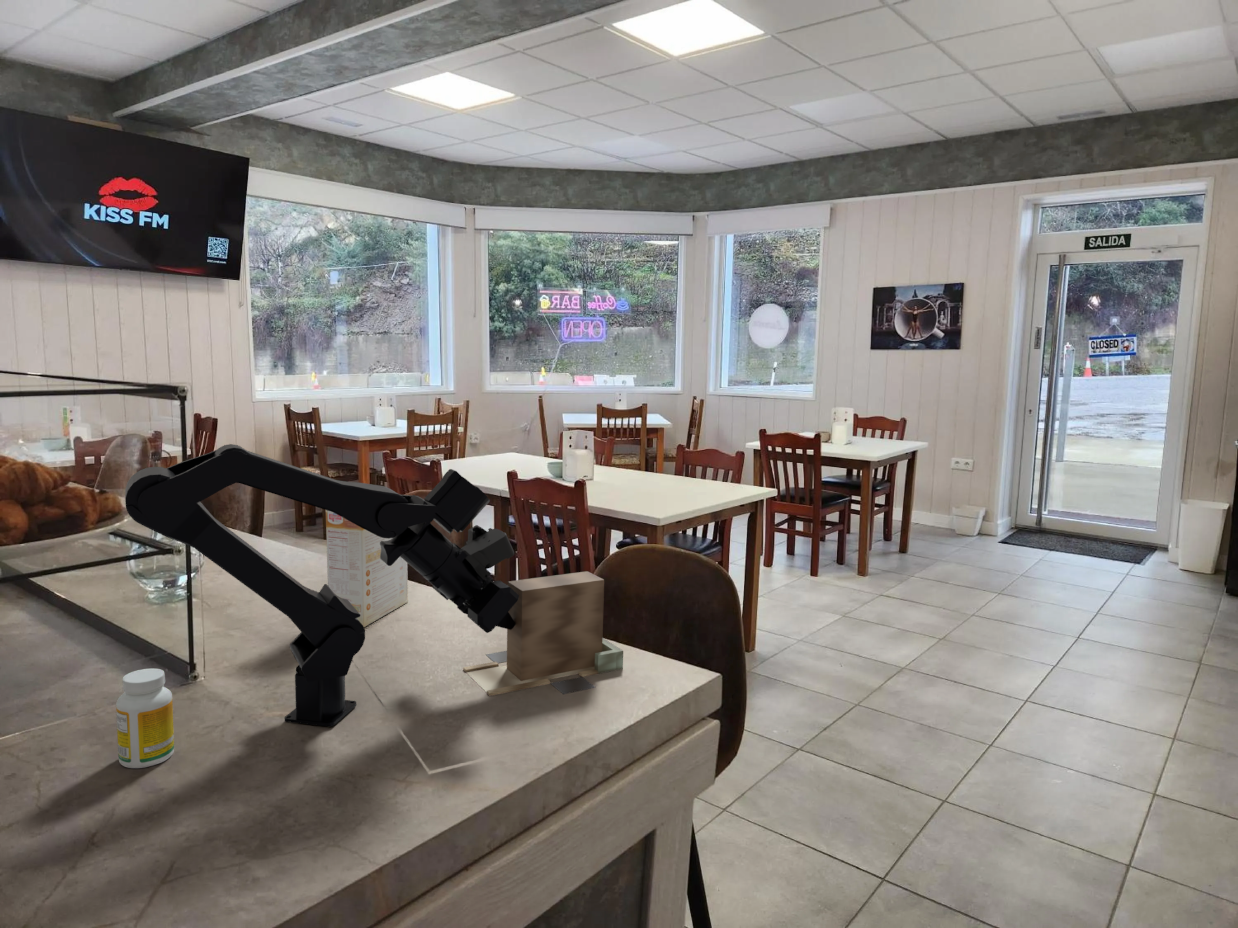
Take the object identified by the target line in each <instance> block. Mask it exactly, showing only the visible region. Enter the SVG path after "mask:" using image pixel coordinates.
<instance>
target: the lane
mask: <svg viewBox="0 0 1238 928" xmlns="http://www.w3.org/2000/svg"><path fill="white" fill-rule="evenodd" d="M485 655H486V657H487V658H488V659H490V661H491V662H486V663H481V664H480V663H479V664H475V665H469V666H463V668H462V669H463V671H464V672H465V673H466V674H467V675H468V676H469V677H470V678H471V679H472V680H473V682H475V683H476V684H477V685H478V686H479V687H480V688H481V690H483V691H484V692H485V693H486V694H487V695H488V696H489V697H491V696H496V695H500V694H501V695H502V694H506V693H510V692H515V691H520V690H525V689H531V688H535V687H539V686H545V685H549V684H550V685H551V686H553V687H554V688H555V689H556V690H557V691H559V693H561V694H562V695H567V694H571V693H575V692H576V693H577V692H581V691H586V690H590V689H594V688H596V686H595V685H594V684H592V683H591V682H590V681H589V680H587V679H586V677H589V676H595V675H598V674H603V673H609V672H615V671H618V670H623V669H624V650H623V649H621V648H620V647H618V646H617V645H615V644H614V643H612V642H610V641H608V639H605V638H604V637H603V639H602V652H599V653H595V666H594V667H589V668H584V669H579V670H574V671H569V672H564V673H559V674H554V675H549V676H544V677H539V678H534V679H529V680H523V681H520V680H519V679H518V678H517V677H516V676H515V675H514V674H512V673H511V672H510V671H509V670H508V669H507V664H506V665H500V666H499V664H502V663H507V650H502V651H498V652H497V651H496V652H492V653H485ZM575 675H578V676H579V677H574V678H570V679H563V680H559V681H555V682H551V680H553V679H558V678H563V677H569V676H575ZM584 677H585V678H584Z"/></svg>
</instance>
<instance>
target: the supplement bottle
mask: <svg viewBox="0 0 1238 928" xmlns="http://www.w3.org/2000/svg"><path fill="white" fill-rule="evenodd" d="M165 683H166V675H165V671H164V670H163V669H160V668H153V667H152V668H143V669H142V668H141V669H138V670H133V671H131V672H129V673H126V674H125V675H124V676H123V677H122V691H123V693H122V694H121V695H120V696H119V697H118V698H117V700H116V704H115V713H116V714H115V715H116V734H117V755H118V761H119V764H120V765H122V766H123V768H124V767H125V768H128V769H144V768H148V767H153V766H156V765H159V764H162V763H164V762H165V761H168V759H169V758H171V757H172V756H173V754H174V752H175V732H174V731H175V730H174V710H173V708H174V707H173V694H172V691H171V690H170V689H168V688H167V687H165Z"/></svg>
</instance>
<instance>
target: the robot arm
mask: <svg viewBox="0 0 1238 928" xmlns="http://www.w3.org/2000/svg"><path fill="white" fill-rule="evenodd" d="M234 484H240V485H244V486H247V487H251V488H254V489H257V490H261V491H262V492H263V491H264V492H266V493H270V494H272V495H276V496H279V497H280V496H281V497H283V498H286V499H289V500H291V501H292V500H293V501H296V502H299V503H303V504H306V505H309V506H312V507H316V508H319V509H322V510H325V511H326V510H328V511H331V512H333V513H335V514H337V515H339V516H341V517H343V518H345V519H347V520H348V521H350V522H352V523H354V524H356V525H357V526H359V527H361V528H363V529H365V530H367V531H369V532H371V533H373V534H375V535H377V536H379V537H382V538H392V539H391V540H388V541H381V542H380V545H381V555H380V559H381V560H382V561H383V562H385V563H386V564H387V565H388V566H391V565H393V563H394V562H395V561H396V560H397V559H398V558H399V557H401V558H402V559H404V560H405V561H406V562H407V565H409V566H410V567H412V568H413V569H414V570H415V571H416V572H417V573H419V574H420V575H421V577H423V578H424V579H425V580H427V582H428V583H430V584H431V585H432V589H433V590H434V591H436V592H437V593H438V594H439V595H440V596H441V597H443V598H444V599H445V600H446V601H448V600H449V601H451V602H452V603H454V605H456V606H457V607H456V608H457V609H458V610H459V611H460V612H462V613H463V614H465V615H467V616H466V617H467V618H468V619H469V620H471V621H472V622H473V623H474V624H476V626H477V627H479V628H480V629H481V630H482V631H483V632H485V634H488V633H491V632H492V631H493V630H495V628H497V627H498V628H502V629H506V630H507V629H509V630H511V629H513V627H514V626H515V625H516V623H515V622H514V620H513V619H512V617H511V615H510V614H509V612H508V611H509V610H510V609H511V608H512V607H513V605H514V604H515V603H516V602H517V601H518V598H519V595H518V594H517V593H516V592H515V591H514V590H513V589H512V588H510V587H509V586H508V584H506V583H504V582H503V581H501V580H499V579H498V580H494V579H493V578H492V577H490V575H491V574H492V573H491V572H490V571H489V570H488V569H491V568H493V567H495V566H496V565H497V564H499V563H501V562H503V561H505V560H506V559H507V560H509V559H510V558H513V556H514V555H515V550H514V549H513V546H512V544H511V542H510V539H509V537H508V535H507V533H506V532H505V531H504V532H503V531H502V530H501V529H498V528H492V527H490V528H488V530H486V529H484V528H483V527H481V526H479V525H477V524H475V525H474V526H472V527H471V528H469V529H468V530H467V541H465V543H466V544H465V545H464V546H462V547H460V546H459V545H457V544H456V543H453V542H451V540H450V539H448V537H446V536H445V535H444V534H443V533H442V532H441V531H440V530H439V529H438V528H436V527H435V526H434V525H433V524H432V522H433V521H434V522H435V523H436V524H437V525H438V526H440V528H442V529H443V530H444V531H445V532H447V533H449V534H451V533H452V532H456V533H457V534H458V533H463V532H464V531H465V529H466V528H467V527H468V526H469V525H470V524H471V523H472V522H473V520H474V519H475V518H476V517H477V516H478V515H479V514H480V513H481V512H482V511H483V510H484V509H485V507H486V506H487V505H488V504H489V503H490V501H491V500H490V498H489V497H488V496H487V495H486V494H485V493H484V492H483V490H481V489H480V488H479V487H478V486H476V485H474V484H473V483H471V482H470V481H469V480H468V479H466V478H465V477H464V476H462V475H461V474H460V473H459V472H458V471H457V470H455V469H452V468H449V469H448V470H447V471H446V472H445V473H444V474H443V476H442V478H441V480H440V481H439V482H437V484H436V485H435V486H434V487H433V488H432V490H431V491H429V492H428V494H427V495H426V496H425V497H424V498H422V497H420V496H419V495H415V494H413V495H411V494H410V495H408V494H400V493H398V492H396V491H394V490H393V489H391V488H389V487H387V486H384V485H379V484H371V483H364V482H357V481H356V482H355V481H345V480H338V479H334V478H332V477H331V478H330V477H328V476H326V475H322V474H320V473H316V472H312V471H310V470H307V469H304V468H301V467H297V466H295V465H293V464H289V463H286V462H282V461H280V460H276V459H274V458H271V457H267V456H264V455H262V454H258V453H255V452H253V451H250V450H247V449H245V448H243V447H242V446H241V445H238V444H234V443H233V444H232V443H229V444H224V445H222V446H220V447H218V448H217V449H215V450H212V451H211V452H207V453H204V454H201V455H199V456H195V457H192V458H189V459H187V460H184V461H180V462H178V463H175V464H173V465H171V466H168V467H163V466H151V467H150V466H149V467H146V468H142V469H140V470H138V471H136V472H135V473H134V474H132V475H131V477H130V478H129V479H128V481H127V483H126V485H125V489H124V490H125V492H124V493H125V496H124V501H125V509H126V511H127V513H128V515H129V517H130V518H132V519H133V521H134V522H136V523H138V524H139V525H141V526H142V527H144V528H147V529H150V530H151V531H153V532H156V533H157V534H159V535H160V536H161V535H162V536H164V537H165V538H168V539H170V540H171V539H172V540H174V541H176V542H179V543H182V544H184V545H187V546H189V547H191V548H193V549H195V550H196V551H197V552H199V553H200V554H201V555H203V556H204V557H205V558H207V559H209V560H210V561H212V562H213V563H214V564H215V565H217V566H218V567H219V568H221V569H222V570H224V571H225V572H226V573H228V574H229V575H230V576H232V578H235V580H237V581H239V582H240V583H241V584H242V585H244V586H245V587H247V588H248V589H250V590H251V591H252V592H253V593H255V594H257V595H258V596H259V597H260V598H262V599H263V600H264V601H266V602H268V603H269V604H270V605H272V606H273V607H274V608H276V609H277V610H278V611H280V612H281V613H283V614H284V615H285V616H287V618H289V620H290V621H292V623H293V624H294V625H295V626H296V628H297V629H298V630H299V631H300V633H299V634H298V635H297V636H296V637H295V638H294V639H293V640H292V641H291V642H290V643H289V648H290V651H291V653H292V655H293V657H294V659H295V660H296V661H297V663H298V665H297V666H296V667H295V673H294V685H295V686H294V690H295V692H294V693H295V695H294V697H295V698H294V699H295V708H294V709H293V710H292V711H290V712H289V713H288V714H286V715H285V716H284V717H283V718H284V723H293V724H304V725H313V726H321V727H333V726H335V725H336V724H338V723H339V721H341V720H342V719H343V718H344V717H346V715H347V714H349V712H351V711H352V710H353V709H354V708H355V707H357V701H356V700H347V699H346V676H347V675H348V672H349V670H350V667H351V665H352V662H353V658H354V656H355V655H356V654H358V653H359V652H360V651H361V649H362V647H363V646H364V643H365V639H366V628H365V627H363V625H362V624H361V622H360V621H359V620H358V619H357V618H358V617H360V614H359V613H358V611H357V610H356V609H355V608H354V607H353V606H352V604H351V603H350V602H349V601H348V600H347V599H343V598H340V597H339V596H337V595H336V594H335V593H334V592H333V591H332V590H331V589H330V588H329V586H328V583H325V584H323V586H322V587H321V589H320V590H319V591H317V590H314V589H311V588H308V587H307V586H305V585H303V584H302V583H301V582H299V581H298V580H297V579H295V578H294V577H293V576H292V575H290V574H289V573H287V572H286V571H284V570H283V569H282V568H280V567H279V566H278V565H277V564H275V563H274V562H273V561H271V560H270V559H269V558H268V557H266V555H263V554H262V553H261V552H260V551H258V550H257V549H256V548H254V547H253V546H252V544H251V545H250V544H249V543H248V542H247V541H245V540H244V539H243V538H242V537H240V536H239V535H238V534H236V533H235V532H234V531H232V530H231V529H230V528H228V527H227V526H225V525H224V524H223V523H222V522H221V521H220V520H218V519H217V518H215V517H214V516H213V515H212V513H210V511H209V509H207V508H206V506H205V505H204V504H203V503H202V502H203V501H204V500H206V499H207V498H209V497H211V496H213V495H215V494H216V493H217V494H218V493H219V492H220V491H222V490H224V489H225V488H227V487H229V486H232V485H234Z"/></svg>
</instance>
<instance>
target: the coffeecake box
mask: <svg viewBox="0 0 1238 928" xmlns="http://www.w3.org/2000/svg"><path fill="white" fill-rule="evenodd" d="M325 527H326V529H325V531H326V568H327V570H326V571H327V572H326V573H327V585H328V586H329V588H330V589H331V590H332V591H333V592H334V593H335V594H336V595H337V596H339V597H340V598H343V599H347V600H348V601H349V602H350V603H351V604H352V606H353V607H354V608H355V609H356V610H357V611H358V613H359V614H360V617H358V618H357V619H358V620H359V621H360V622H361V624H362V625H363V627H364V628H365V627H367V626H369V625H371V624H372V623H374V622H376V621H377V620H379V619H381V618H383V617H384V616H386V615H388V614H389V613H391V612H392V611H394V610H396V609H399V608H400V607H401V606H403V605H405V604H407V603H408V602H409V595H408V594H409V590H408V589H409V587H408V586H409V584H408V580H409V578H408V576H409V575H408V563H407V562H406V561H405V560H404V559H402V558H401V557H399V558H398V559H397V560H396V561H395V562H394V563H393V565H391V566H388V565H387V564H386V563H385V562H383V561H382V560H381V559H380V555H381V545H380V542H381V541H388V540H391V539H392V538H382V537H379V536H377V535H375V534H373V533H371V532H369V531H367V530H365V529H363V528H361V527H359V526H357V525H356V524H354V523H352V522H350V521H348V520H347V519H345V518H343V517H341V516H339V515H337V514H335V513H333V512H331V511H328V510H325Z"/></svg>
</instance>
